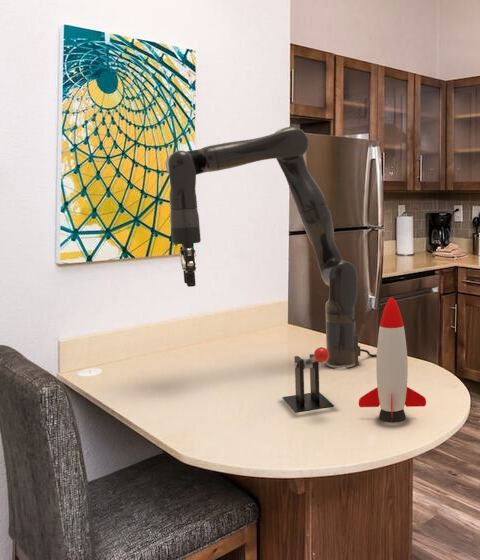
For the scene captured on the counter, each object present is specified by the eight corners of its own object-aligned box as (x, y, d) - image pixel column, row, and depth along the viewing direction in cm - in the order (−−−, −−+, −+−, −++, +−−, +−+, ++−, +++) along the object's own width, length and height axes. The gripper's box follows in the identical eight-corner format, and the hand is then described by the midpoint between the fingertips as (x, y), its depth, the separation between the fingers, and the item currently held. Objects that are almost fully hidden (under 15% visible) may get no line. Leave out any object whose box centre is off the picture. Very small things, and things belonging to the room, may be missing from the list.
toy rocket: (358, 425, 146) (357, 298, 148) (392, 419, 154) (390, 299, 156) (393, 430, 138) (392, 296, 140) (426, 424, 146) (424, 297, 148)
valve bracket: (334, 410, 155) (333, 360, 153) (295, 416, 151) (294, 365, 149) (318, 395, 166) (317, 349, 164) (282, 401, 161) (280, 353, 160)
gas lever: (332, 360, 144) (329, 345, 145) (317, 362, 142) (315, 346, 143) (313, 371, 158) (310, 357, 159) (299, 372, 157) (297, 358, 157)
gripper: (202, 225, 163) (206, 286, 165) (196, 224, 176) (201, 281, 178) (172, 227, 160) (177, 288, 162) (169, 226, 173) (174, 283, 175)
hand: (189, 284), depth 170 cm, fingers open, 8 cm apart
